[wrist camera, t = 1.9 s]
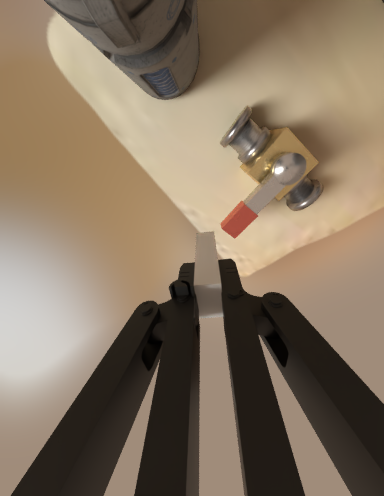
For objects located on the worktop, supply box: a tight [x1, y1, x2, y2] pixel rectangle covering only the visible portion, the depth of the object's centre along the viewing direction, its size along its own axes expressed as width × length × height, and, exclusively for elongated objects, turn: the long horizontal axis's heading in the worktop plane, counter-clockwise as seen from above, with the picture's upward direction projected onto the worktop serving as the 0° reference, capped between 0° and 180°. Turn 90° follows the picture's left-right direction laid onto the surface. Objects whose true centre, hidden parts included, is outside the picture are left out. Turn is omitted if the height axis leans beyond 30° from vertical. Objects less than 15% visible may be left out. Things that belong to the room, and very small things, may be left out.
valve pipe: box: [220, 105, 323, 211], centre depth 29 cm, size 18×7×8 cm, turn 53°
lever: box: [221, 152, 306, 238], centre depth 26 cm, size 14×4×2 cm, turn 143°
